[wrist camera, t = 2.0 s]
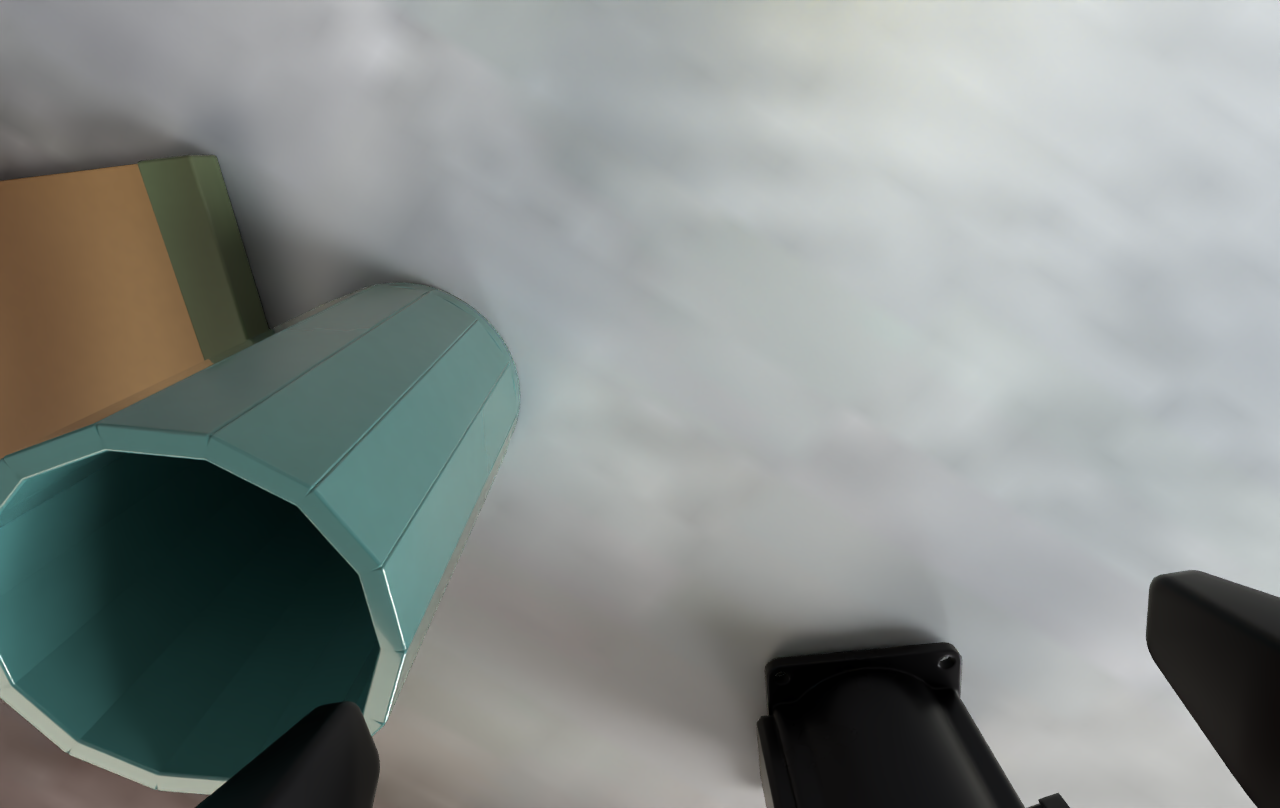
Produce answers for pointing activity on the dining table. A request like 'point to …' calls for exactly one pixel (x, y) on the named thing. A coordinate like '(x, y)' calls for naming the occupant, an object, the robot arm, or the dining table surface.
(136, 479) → the cup
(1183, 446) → the dining table surface
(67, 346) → the cork mat
